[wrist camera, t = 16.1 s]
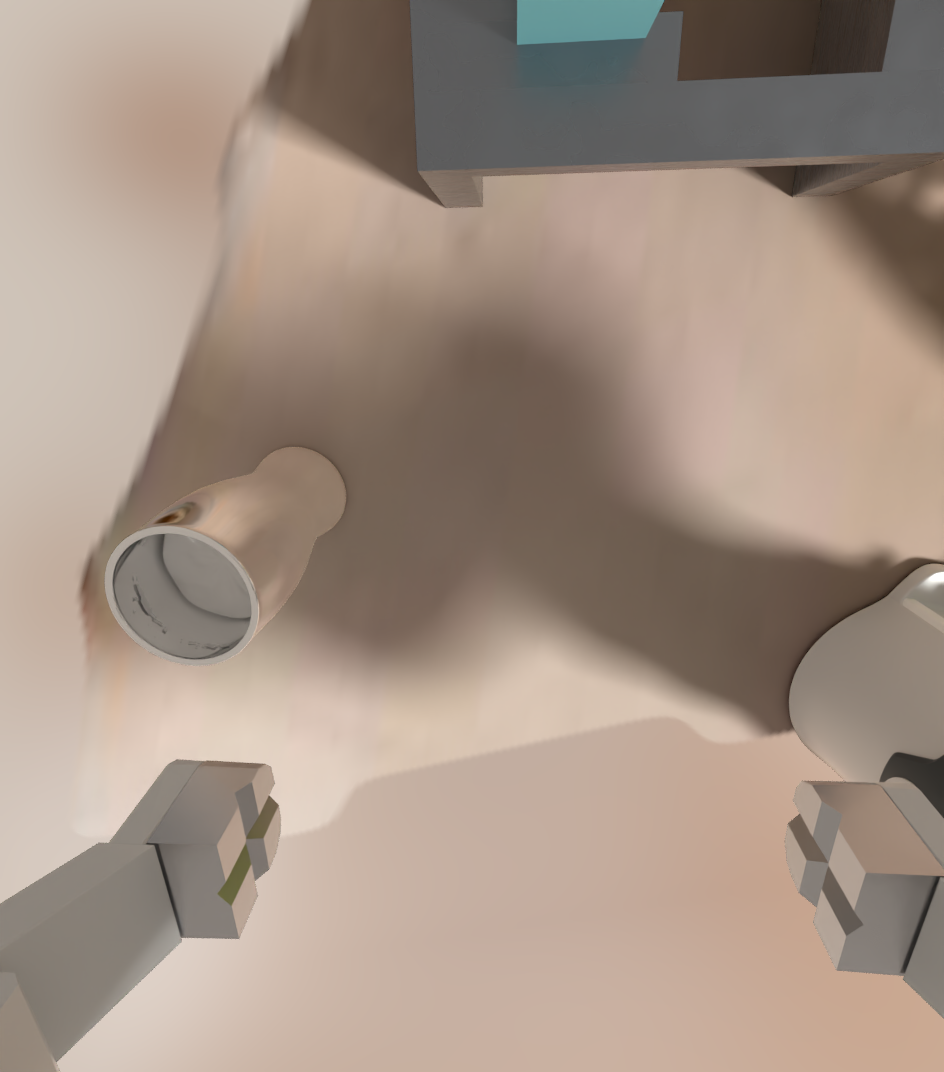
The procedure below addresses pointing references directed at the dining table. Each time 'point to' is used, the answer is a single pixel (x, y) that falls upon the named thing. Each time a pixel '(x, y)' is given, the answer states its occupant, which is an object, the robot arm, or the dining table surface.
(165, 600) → the beer glass
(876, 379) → the dining table surface
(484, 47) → the keyhole bracket
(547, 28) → the peg
